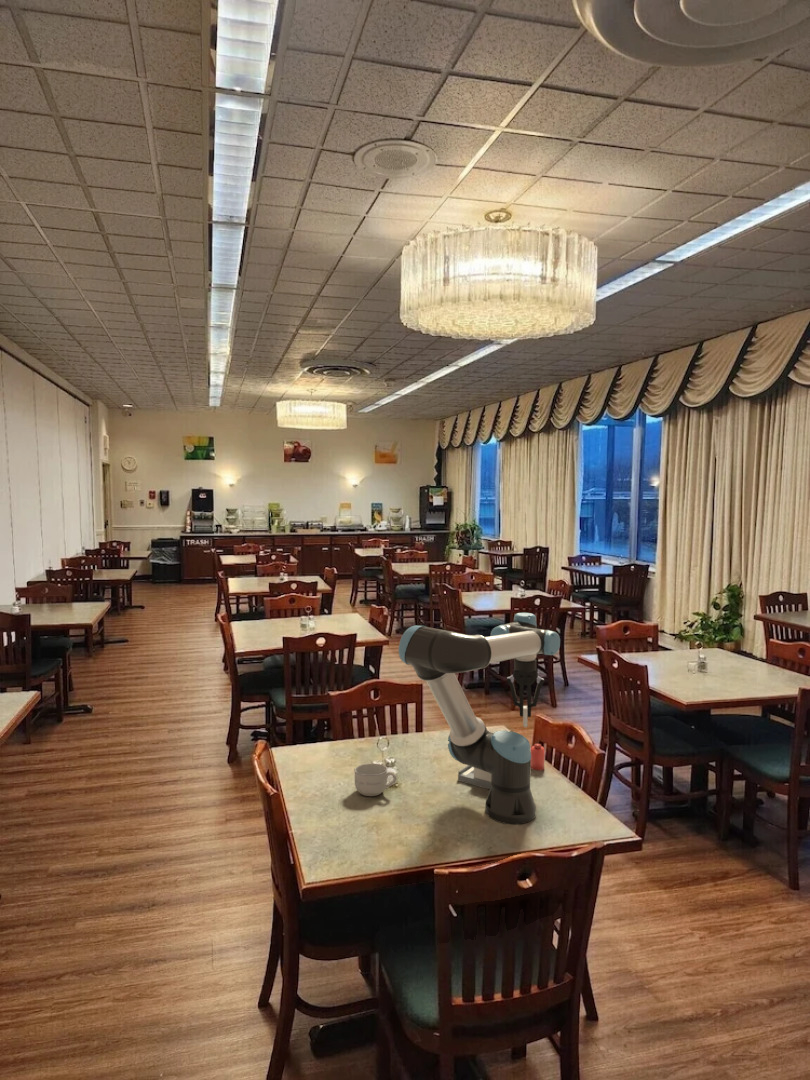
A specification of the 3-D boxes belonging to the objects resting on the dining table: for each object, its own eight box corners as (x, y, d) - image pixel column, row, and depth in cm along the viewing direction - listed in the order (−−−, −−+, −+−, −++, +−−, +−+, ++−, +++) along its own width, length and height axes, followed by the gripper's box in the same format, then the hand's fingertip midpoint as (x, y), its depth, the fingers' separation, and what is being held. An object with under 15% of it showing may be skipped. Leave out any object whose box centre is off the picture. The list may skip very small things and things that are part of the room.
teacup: (347, 795, 209) (347, 771, 209) (365, 782, 219) (365, 759, 218) (385, 804, 203) (385, 779, 202) (402, 791, 212) (402, 767, 212)
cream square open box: (510, 774, 220) (510, 755, 220) (498, 784, 213) (498, 764, 212) (486, 768, 225) (486, 749, 225) (473, 777, 218) (474, 758, 218)
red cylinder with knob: (546, 766, 232) (546, 744, 231) (541, 771, 228) (541, 748, 227) (533, 763, 235) (533, 741, 234) (528, 768, 231) (528, 745, 230)
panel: (531, 765, 233) (531, 757, 233) (498, 791, 212) (498, 782, 212) (493, 755, 242) (493, 748, 242) (458, 780, 221) (458, 771, 220)
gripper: (544, 656, 226) (544, 722, 228) (506, 655, 228) (506, 720, 230) (545, 661, 219) (545, 730, 220) (505, 660, 221) (505, 728, 223)
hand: (525, 725), depth 225 cm, fingers closed
